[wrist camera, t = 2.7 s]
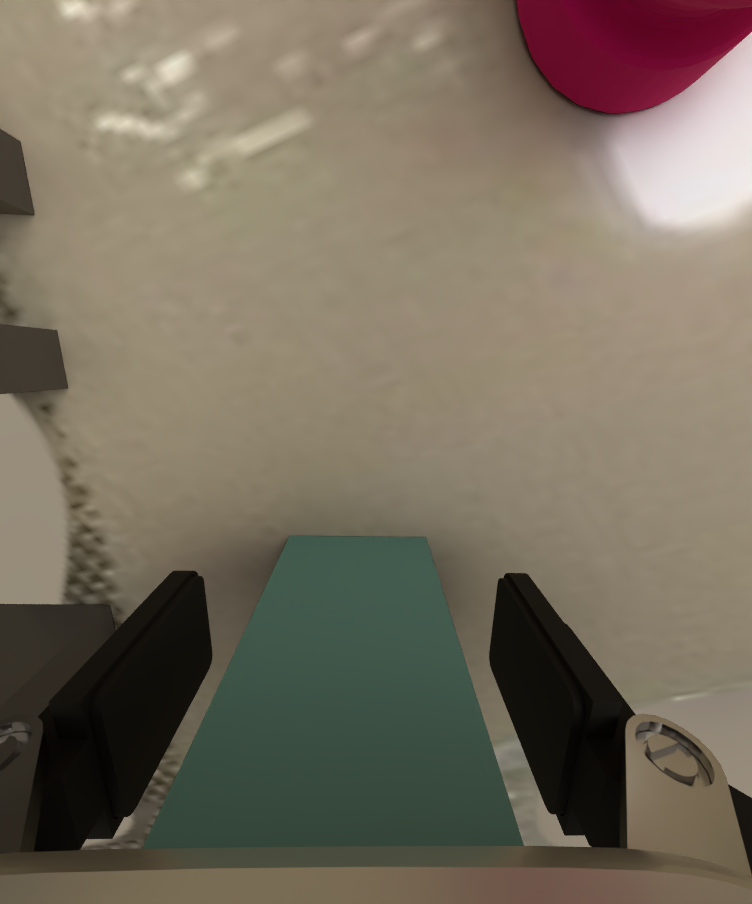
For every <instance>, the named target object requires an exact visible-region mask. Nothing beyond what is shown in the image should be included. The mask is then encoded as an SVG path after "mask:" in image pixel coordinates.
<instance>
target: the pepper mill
mask: <svg viewBox="0 0 752 904" xmlns="http://www.w3.org/2000/svg"><path fill="white" fill-rule="evenodd" d="M517 8H518V14H519V21H520V24H521V27H522V30H523V33H524V36H525V39H526V42H527V45H528V48H529V51H530V54H531V56H532V58H533V60H534V61H535V63H536V64H537V66H538V68H539V69H540V70H541V72H542V73H543V74H544V76H545V77H546V78H547V80H548V81H549V82H550V84H551V85H552V86H553V87H554V88H555V89H556V90H558V91H559V92H561V93H562V94H564V95H565V96H566V97H568V98H569V99H571V100H572V101H574V102H575V103H576V104H578V105H580V106H584V107H587V108H591V109H594V110H598V111H602V112H605V113H625V112H633V111H639V110H642V109H646V108H649V107H653V106H656V105H658V104H660V103H662V102H664V101H667V100H669V99H670V98H672V97H674V96H676V95H677V94H679V93H681V92H682V91H683V90H685V89H686V88H687V87H689V86H690V85H691V84H692V83H694V82H695V81H696V80H698V79H699V78H700V77H701V76H702V75H703V74H704V73H706V72H707V71H708V70H709V69H710V68H711V67H712V66H713V65H715V64H716V63H717V62H718V61H719V60H720V59H721V58H723V57H724V56H725V55H726V54H727V53H728V52H729V51H731V50H732V49H733V48H734V47H735V46H736V45H737V44H738V43H740V42H741V41H742V40H743V39H744V38H745V37H746V36H748V35H749V34H750V33H751V32H752V0H517Z"/></svg>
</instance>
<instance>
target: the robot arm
mask: <svg viewBox="0 0 752 904" xmlns="http://www.w3.org/2000/svg"><path fill="white" fill-rule="evenodd" d="M489 660H490V666H491V669H492V672H493V675H494V677H495V680H496V682H497V685H498V687H499V690H500V692H501V695H502V697H503V700H504V702H505V705H506V708H507V710H508V713H509V715H510V718H511V720H512V723H513V725H514V728H515V730H516V733H517V735H518V738H519V740H520V743H521V746H522V748H523V751H524V753H525V756H526V758H527V761H528V763H529V766H530V768H531V771H532V773H533V776H534V779H535V781H536V784H537V786H538V789H539V791H540V794H541V796H542V799H543V801H544V804H545V806H546V808H547V810H548V811H549V813H551V814H556V816H557V818H558V820H559V823H560V825H561V828H562V830H563V833H564V835H585V837H586V839H587V841H588V843H589V845H590V846H591V847H555V846H347V847H233V848H165V849H101V850H79V849H81V847H82V845H83V844H84V842H85V840H86V839H112V838H113V837H114V835H115V833H116V831H117V829H118V827H119V825H120V823H121V822H122V820H123V818H124V817H128V816H130V815H131V814H132V813H133V811H134V810H135V808H136V807H137V805H138V803H139V801H140V799H141V797H142V795H143V793H144V792H145V790H146V788H147V786H148V784H149V782H150V780H151V778H152V776H153V774H154V773H155V771H156V769H157V767H158V765H159V763H160V761H161V759H162V757H163V755H164V754H165V752H166V750H167V748H168V746H169V744H170V742H171V740H172V738H173V736H174V735H175V733H176V731H177V729H178V727H179V725H180V723H181V721H182V719H183V717H184V716H185V714H186V712H187V710H188V708H189V706H190V704H191V702H192V700H193V699H194V697H195V695H196V693H197V691H198V689H199V687H200V685H201V683H202V681H203V680H204V678H205V676H206V674H207V672H208V670H209V668H210V665H211V661H212V646H211V637H210V629H209V620H208V612H207V603H206V595H205V586H204V579H203V577H202V576H198V574H197V572H196V571H173V572H172V573H170V574H169V575H168V576H167V578H166V579H165V580H164V581H163V582H162V583H161V584H160V585H159V586H158V587H157V588H156V589H155V590H154V591H153V592H152V593H151V594H150V595H149V596H148V598H147V599H146V600H145V601H144V602H143V603H142V604H141V605H140V606H139V607H138V608H137V609H136V610H135V611H134V612H133V613H132V614H131V615H130V616H129V618H128V619H127V620H126V621H125V622H124V623H123V624H122V625H121V626H120V627H119V628H118V629H117V630H116V631H115V632H114V633H113V634H112V635H111V637H110V638H109V639H108V640H107V641H106V642H105V643H104V644H103V645H102V646H101V647H100V648H99V649H98V650H97V651H96V652H95V653H94V654H93V655H92V657H91V658H90V659H89V660H88V661H87V662H86V663H85V664H84V665H83V666H82V667H81V668H80V669H79V670H78V671H77V672H76V673H75V674H74V675H73V677H72V678H71V679H70V680H69V681H68V682H67V683H66V684H65V685H64V686H63V687H62V688H61V689H60V690H59V691H58V692H57V693H56V694H55V696H54V697H53V698H52V699H51V700H50V701H49V702H48V703H49V705H48V706H47V707H46V708H45V709H44V711H43V712H42V713H41V714H40V715H39V716H38V717H37V716H34V715H29V714H24V715H16V716H12V717H9V718H5V719H2V720H0V904H752V798H751V797H749V796H747V795H745V794H744V793H742V792H740V791H738V790H737V789H735V788H733V787H732V786H730V785H728V783H727V778H726V776H725V774H724V771H723V769H722V767H721V765H720V763H719V762H718V760H717V759H716V758H715V756H714V755H713V754H712V752H711V751H710V750H709V749H708V748H707V747H706V746H705V745H704V744H703V743H701V741H700V740H699V739H698V738H696V737H695V736H693V735H692V734H691V733H689V732H688V731H687V730H685V729H684V728H682V727H680V726H678V725H677V724H675V723H673V722H671V721H669V720H667V719H664V718H661V717H658V716H655V715H648V714H639V715H635V713H634V712H633V711H632V709H631V708H630V707H629V705H628V704H627V703H626V701H625V700H624V699H623V697H622V696H621V695H620V693H619V692H618V691H617V689H616V688H615V687H614V685H613V684H612V683H611V681H610V680H609V679H608V677H607V676H606V675H605V673H604V672H603V671H602V669H601V668H600V667H599V665H598V664H597V663H596V661H595V660H594V659H593V657H592V656H591V655H590V653H589V652H588V651H587V649H586V648H585V647H584V645H583V644H582V643H581V642H580V640H579V639H578V638H577V636H576V635H575V634H574V632H573V631H572V630H571V628H570V627H569V626H568V625H567V624H565V623H564V622H563V621H562V620H561V618H560V617H559V616H558V614H557V613H556V612H555V610H554V609H553V608H552V606H551V605H550V604H549V602H548V601H547V599H546V598H545V597H544V595H543V594H542V593H541V591H540V590H539V589H538V587H537V586H536V585H535V583H534V582H533V581H532V579H531V578H530V577H529V575H528V574H526V573H506V574H505V576H504V578H500V579H499V580H498V585H497V594H496V602H495V610H494V619H493V627H492V636H491V644H490V652H489Z"/></svg>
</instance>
